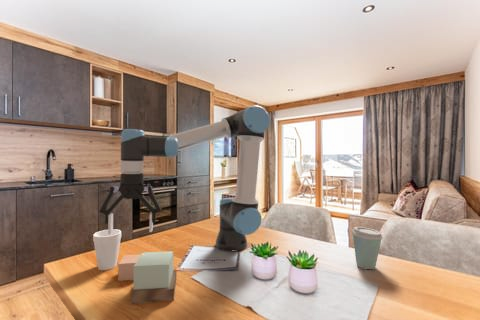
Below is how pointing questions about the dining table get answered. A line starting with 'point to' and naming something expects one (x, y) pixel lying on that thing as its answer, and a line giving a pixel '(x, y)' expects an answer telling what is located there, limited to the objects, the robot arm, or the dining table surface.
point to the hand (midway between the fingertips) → (131, 231)
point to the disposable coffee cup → (366, 246)
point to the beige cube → (127, 267)
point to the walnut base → (155, 293)
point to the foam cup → (107, 248)
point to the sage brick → (153, 270)
